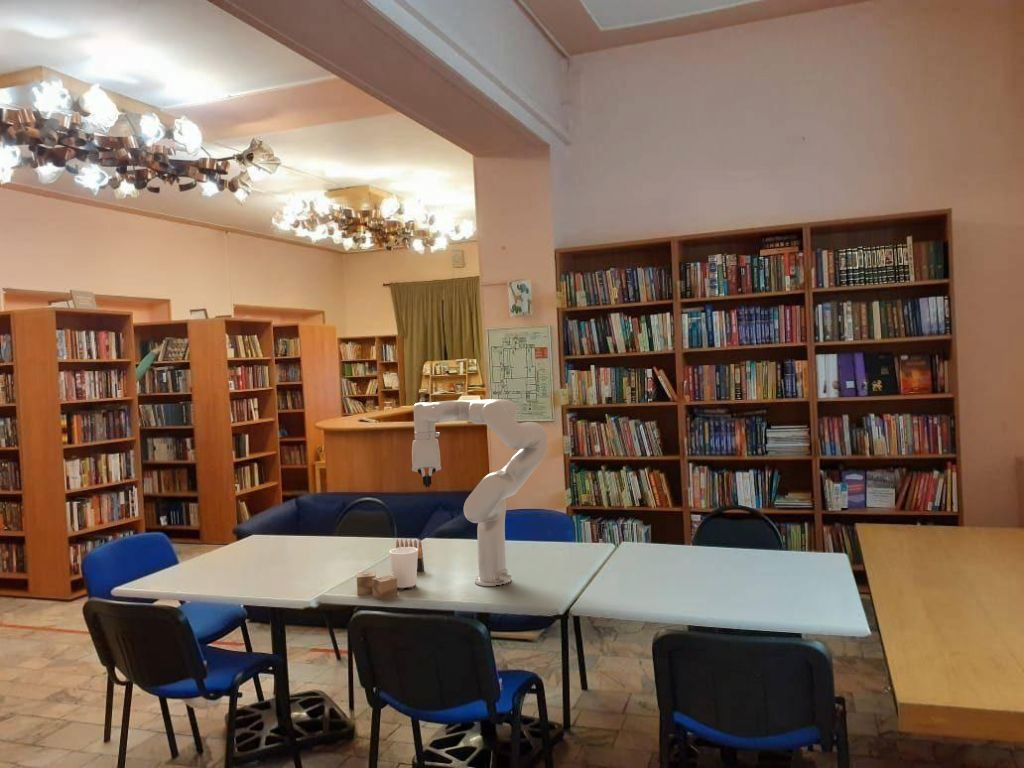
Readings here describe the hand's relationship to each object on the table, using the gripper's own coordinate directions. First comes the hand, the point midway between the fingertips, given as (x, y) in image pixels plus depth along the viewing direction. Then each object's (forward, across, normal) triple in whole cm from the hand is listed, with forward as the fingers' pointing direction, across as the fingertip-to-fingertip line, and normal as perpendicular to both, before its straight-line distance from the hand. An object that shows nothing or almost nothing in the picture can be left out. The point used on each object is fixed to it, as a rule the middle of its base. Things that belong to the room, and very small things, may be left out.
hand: (427, 486), depth 270 cm
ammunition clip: (+32, +8, -7) cm, 34 cm away
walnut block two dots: (+32, +16, +22) cm, 42 cm away
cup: (+32, +10, +13) cm, 36 cm away
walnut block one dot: (+32, +22, +15) cm, 42 cm away
